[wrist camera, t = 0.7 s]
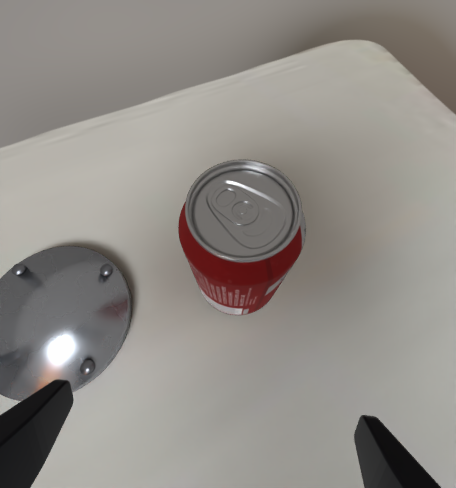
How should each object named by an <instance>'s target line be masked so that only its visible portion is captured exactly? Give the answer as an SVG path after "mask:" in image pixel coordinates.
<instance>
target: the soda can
mask: <svg viewBox="0 0 456 488" xmlns="http://www.w3.org/2000/svg"><path fill="white" fill-rule="evenodd" d="M178 228H179V238H180V242H181V245H182V248H183V251H184V253H185V255H186V258H187V260H188V262H189V264H190V267H191V269H192V271H193V274H194V276H195V278H196V281H197V283H198V285H199V288H200V290H201V292H202V294H203V296H204V297H205V299H206V300H207V301H208V302H209V303H210V304H211V305H212V306H213V307H214V308H216V309H217V310H219V311H221V312H223V313H226V314H231V315H246V314H250V313H253V312H255V311H257V310H259V309H261V308H262V307H263V306H264V305H266V304H267V303H268V301H269V300H270V299H271V297H272V296H273V294H274V293H275V291H276V290H277V288H278V287H279V285H280V284H281V282H282V281H283V279H284V278H285V276H286V275H287V273H288V272H289V270H290V269H291V267H292V266H293V264H294V263H295V261H296V259H297V258H298V256H299V254H300V252H301V250H302V248H303V245H304V241H305V234H306V224H305V218H304V214H303V211H302V205H301V200H300V196H299V194H298V192H297V190H296V188H295V186H294V185H293V183H292V182H291V181H290V180H289V179H288V177H287V176H285V175H284V174H283V173H282V172H280V171H279V170H278V169H276V168H274V167H272V166H270V165H268V164H265V163H262V162H259V161H254V160H231V161H227V162H223V163H220V164H217V165H215V166H213V167H211V168H209V169H208V170H207V171H205V172H204V173H203V174H201V175H200V176H199V177H198V178H197V180H196V181H195V182H194V183H193V185H192V186H191V188H190V190H189V193H188V195H187V199H186V202H185V204H184V206H183V208H182V210H181V214H180V218H179V227H178Z"/></svg>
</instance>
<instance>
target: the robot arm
mask: <svg viewBox="0 0 456 488" xmlns="http://www.w3.org/2000/svg"><path fill="white" fill-rule="evenodd" d="M72 404H73V394H72V389H71V384H70V382H69V381H68V380H62V379H56V380H53V381H52V382H50V383H49V384H47V385H46V386H44V387H43V388H41V389H39V390H38V391H36V392H35V393H33V394H32V395H30V396H29V397H27V398H26V399H24V400H23V401H21V402H20V403H18V404H17V405H15V406H14V407H12V408H11V409H9V410H8V411H6V412H4V413H3V414H1V415H0V488H30V487H31V485H32V484H33V482H34V480H35V479H36V477H37V475H38V474H39V472H40V470H41V468H42V466H43V465H44V463H45V461H46V459H47V457H48V455H49V453H50V451H51V449H52V447H53V445H54V443H55V441H56V439H57V436H58V434H59V432H60V430H61V428H62V426H63V424H64V422H65V420H66V418H67V416H68V414H69V412H70V409H71V407H72ZM354 440H355V445H356V450H357V455H358V459H359V464H360V469H361V473H362V478H363V483H364V487H365V488H441V487H440V486H439V485H438V484H437V482H436V481H435V480H434V479H433V478H432V477H431V476H430V475H429V474H428V473H427V472H426V470H425V469H424V468H423V467H422V466H421V465H420V464H419V463H418V462H417V461H416V460H415V458H414V457H413V456H412V455H411V454H410V453H409V452H408V451H407V450H406V449H405V448H404V446H403V445H402V444H401V443H400V442H399V441H398V440H397V439H396V438H395V437H394V435H393V434H392V433H391V432H390V431H389V430H388V429H387V428H386V427H385V426H384V425H383V423H382V422H381V421H380V420H379V419H378V418H376V417H374V416H367V415H362V416H361V417H360V419H359V422H358V425H357V427H356V430H355V434H354Z"/></svg>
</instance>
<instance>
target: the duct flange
mask: <svg viewBox="0 0 456 488" xmlns="http://www.w3.org/2000/svg"><path fill="white" fill-rule="evenodd" d="M131 312H132V301H131V294H130V290H129V287H128V284H127V281H126V279H125V277H124V276H123V274H122V273H121V271H120V270H119V269H118V268H117V267H116V266H115V265H114V264H113V263H112V262H111V261H110V260H108V259H107V258H106V257H104V256H103V255H101V254H100V253H98V252H96V251H93V250H90V249H88V248H83V247H76V246H63V247H56V248H51V249H47V250H44V251H41V252H39V253H36V254H34V255H32V256H30V257H28V258H26V259H24V260H23V261H21V262H20V263H18V264H16V265H14V266H13V268H11V269H10V270H9V271H8V272H7V273H6V274H5V275H4V276H3V277H2V278H1V279H0V394H1V395H3V396H5V397H7V398H10V399H14V400H18V401H23V400H24V399H26V398H27V397H29V396H30V395H32V394H33V393H35V392H36V391H38V390H39V389H41V388H43V387H44V386H46V385H47V384H49V383H50V382H52V381H53V380H56V379H62V380H68V381H69V382H70V384H71V389H72V392H74V391H76V390H78V389H80V388H82V387H83V386H85V385H87V384H88V383H90V382H91V381H92V380H94V379H95V378H96V377H97V376H98V375H100V374H101V373H102V372H103V371H104V370H105V368H106V367H107V366H108V365H109V364H110V363H111V361H112V360H113V359H114V358H115V356H116V355H117V353H118V351H119V350H120V348H121V346H122V344H123V342H124V340H125V338H126V335H127V332H128V329H129V325H130V320H131Z"/></svg>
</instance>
